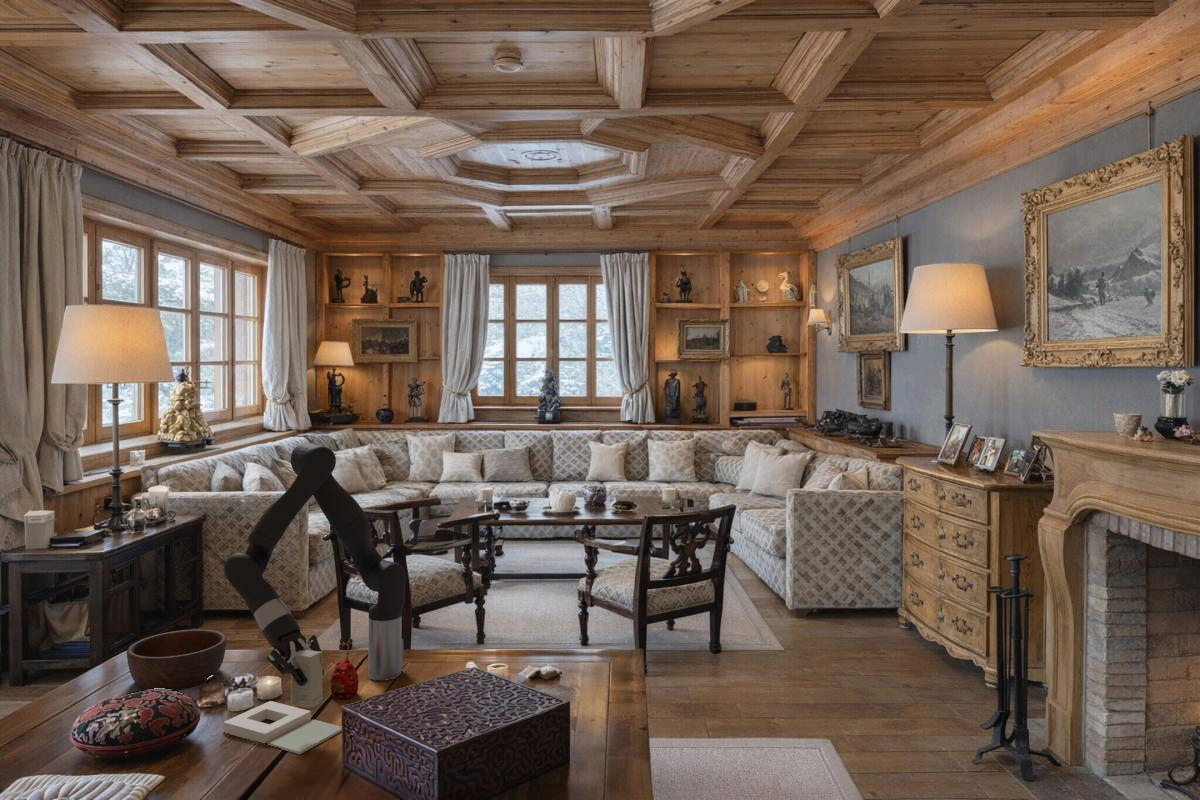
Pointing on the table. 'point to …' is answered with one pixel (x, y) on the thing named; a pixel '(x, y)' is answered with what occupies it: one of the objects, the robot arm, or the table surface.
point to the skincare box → (308, 679)
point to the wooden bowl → (176, 658)
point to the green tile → (306, 736)
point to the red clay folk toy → (344, 679)
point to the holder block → (255, 730)
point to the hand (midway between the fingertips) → (312, 680)
